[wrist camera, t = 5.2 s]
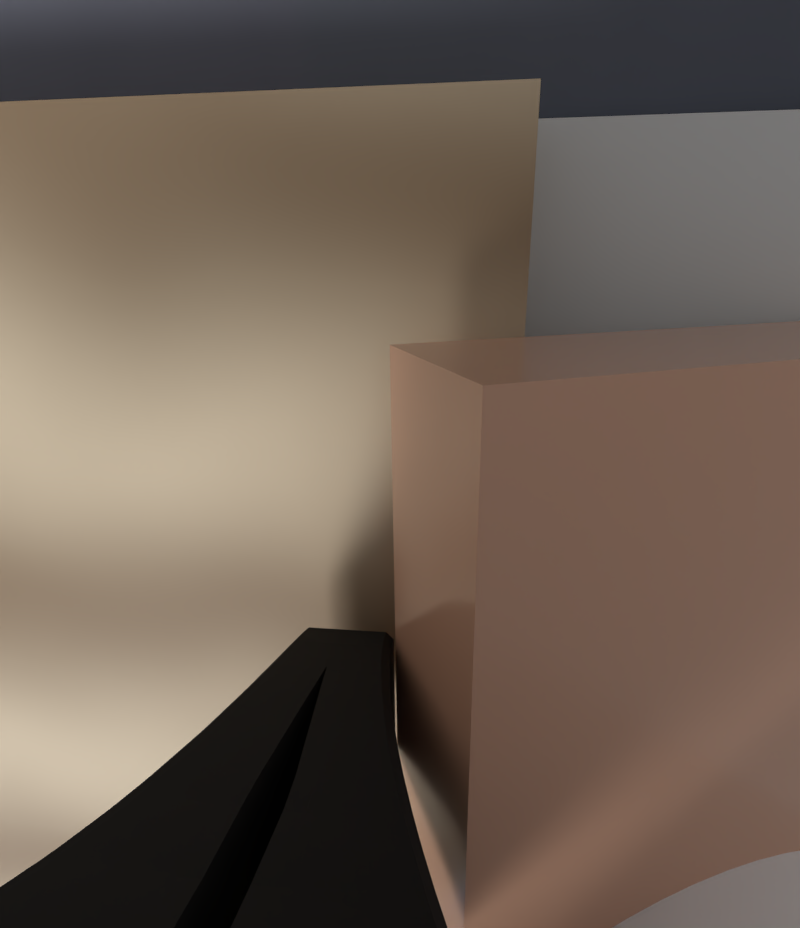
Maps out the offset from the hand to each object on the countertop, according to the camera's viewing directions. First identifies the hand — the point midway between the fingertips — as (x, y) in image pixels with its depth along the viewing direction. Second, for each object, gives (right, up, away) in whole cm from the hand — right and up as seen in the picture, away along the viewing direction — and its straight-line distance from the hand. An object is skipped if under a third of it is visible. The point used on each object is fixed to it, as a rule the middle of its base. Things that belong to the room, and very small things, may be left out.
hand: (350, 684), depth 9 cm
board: (-3, +1, +3) cm, 5 cm away
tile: (+4, 0, +1) cm, 4 cm away
